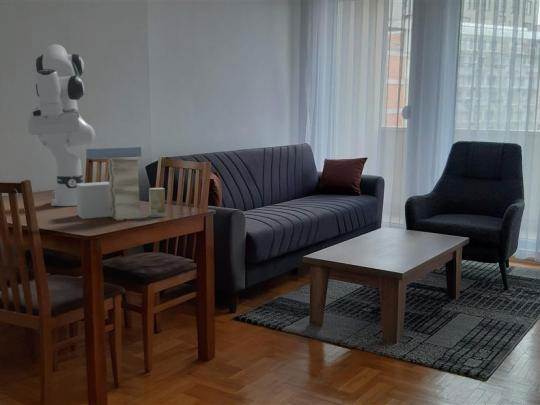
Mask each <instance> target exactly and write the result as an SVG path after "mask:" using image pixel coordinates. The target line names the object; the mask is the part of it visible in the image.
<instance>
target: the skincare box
mask: <svg viewBox="0 0 540 405" xmlns="http://www.w3.org/2000/svg"><path fill="white" fill-rule="evenodd" d="M148 206H149V209H148V210H149V211H148V212H149V213H148V214H149V217H151V218H161V217H166V189H165V188H164V187H150V188H148Z"/></svg>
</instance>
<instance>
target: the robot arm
mask: <svg viewBox="0 0 540 405" xmlns="http://www.w3.org/2000/svg"><path fill="white" fill-rule="evenodd" d="M34 68H35V72H36V73H37V74H36V76H37V77H36V83H35V87H36V88H35V89H36V95H37V97H38V98H39V107H35V108H34V109H31V110H30V111H29V113H28V114H29V118H28V122H27V123H28V124H27V129H28V130H27V131H28V134H29V135H30V136H36V135H38V139H39V142H40V144H41V145H42V146H44V147H45V148H47V150H49V151H50V152H51V154H53V157H54V159H55V163H56V169H57V170H56V171H57V176H56V183H57V184H56V186H55V188H54V189H53V191H52V193H51V194H52V197H53V199H52V201H51V203H50V206H52V207H54V206H58V207H75V206H76V207H77V193H76V184H79V183H84V177H83V174H82V160H81V159H80V157H79V156H78V155H75V154H74V153H71V152H69V151H68V150H67V148H69V147H71V148H72V147H84V146H90V145H92V144H93V143H94V142H95V140H96V132H95V129H94V128H93V126H92V125H90V124H89V123H88V122H86V120H84V119H83V118H82V116H81V114H80V112H79V108H78V107H79V106H78V101H79V100H80V99H81V98H82V97H83V96H84V95H85V84H84V82H83V80H82V78H81V76H82V75H83V73H84V70H85V62H84V60H83V58H82V56H81V55H80V54H77V53H72V54H71V53H68V52H67V50H66V49H65V47H64V46H63V45H61V44H58V43H54V44H50V45H49V46H48V47H46V49H45V51H44V53H43V54H41V55H39V56H38V57H37V58H36V59H35V64H34Z"/></svg>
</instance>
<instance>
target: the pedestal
mask: <svg viewBox="0 0 540 405" xmlns="http://www.w3.org/2000/svg"><path fill="white" fill-rule="evenodd" d="M106 160H107V162H108V178H109V179H108V180H109V181H108V182H109V185H110V206H111V216H110V217H111V218H112V219H113V220H115V219H116V220H115V221H125V220H124V219H127V220H136V219H141V211H140V210H141V209H140V206H141V205H140V188H139V186H140V185H139V161H138V160H140V157H120V158H106Z"/></svg>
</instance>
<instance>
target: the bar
mask: <svg viewBox="0 0 540 405" xmlns="http://www.w3.org/2000/svg"><path fill="white" fill-rule="evenodd" d="M85 150H86V159H87V160H100V159H102V160H103V159H106V160H107V158H120V157H139V158H140V157H142V147H141V146H122V147H121V146H118V147H97V148H96V147H93V148H86V149H85Z"/></svg>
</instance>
